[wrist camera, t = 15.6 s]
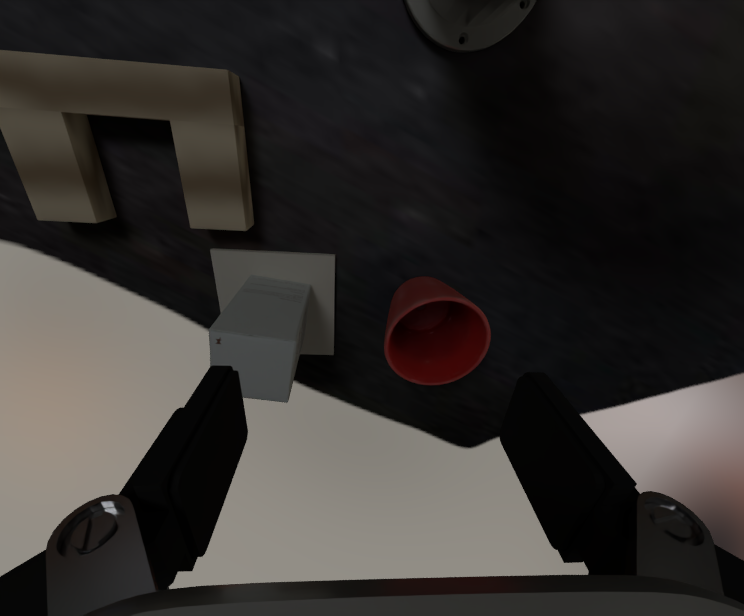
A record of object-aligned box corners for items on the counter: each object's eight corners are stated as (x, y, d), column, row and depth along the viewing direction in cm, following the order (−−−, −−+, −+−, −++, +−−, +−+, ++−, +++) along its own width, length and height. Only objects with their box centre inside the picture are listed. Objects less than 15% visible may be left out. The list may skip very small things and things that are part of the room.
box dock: (4, 56, 28) (-33, 47, 25) (239, 76, 29) (227, 69, 27) (62, 214, 34) (37, 220, 31) (254, 224, 35) (246, 230, 33)
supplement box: (248, 326, 41) (207, 395, 29) (250, 272, 37) (206, 327, 26) (306, 335, 42) (288, 405, 30) (313, 283, 38) (296, 341, 27)
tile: (212, 248, 36) (210, 249, 36) (335, 254, 37) (334, 255, 37) (229, 349, 43) (227, 352, 42) (333, 352, 44) (333, 355, 43)
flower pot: (370, 274, 39) (374, 311, 30) (459, 255, 38) (490, 288, 30) (385, 344, 44) (393, 394, 35) (465, 329, 43) (492, 375, 35)
